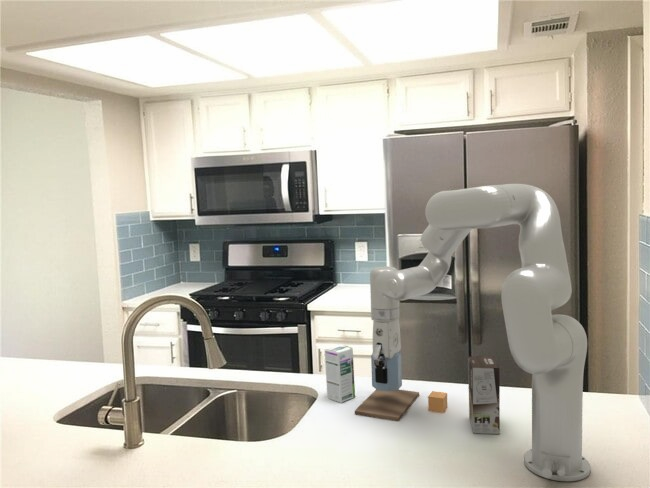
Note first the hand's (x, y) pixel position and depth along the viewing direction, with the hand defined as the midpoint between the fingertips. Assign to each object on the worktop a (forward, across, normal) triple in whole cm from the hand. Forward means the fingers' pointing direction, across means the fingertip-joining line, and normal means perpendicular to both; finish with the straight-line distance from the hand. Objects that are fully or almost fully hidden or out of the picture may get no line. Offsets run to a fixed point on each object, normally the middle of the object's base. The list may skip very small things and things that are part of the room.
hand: (386, 377), depth 147 cm
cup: (+2, 0, 0) cm, 2 cm away
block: (+8, +2, -13) cm, 16 cm away
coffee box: (+8, -4, -26) cm, 28 cm away
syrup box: (+8, 0, +14) cm, 16 cm away
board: (+8, 0, 0) cm, 8 cm away
